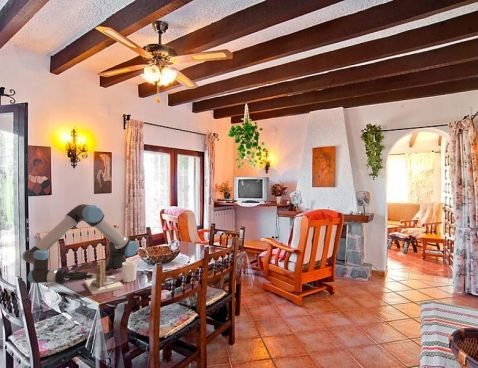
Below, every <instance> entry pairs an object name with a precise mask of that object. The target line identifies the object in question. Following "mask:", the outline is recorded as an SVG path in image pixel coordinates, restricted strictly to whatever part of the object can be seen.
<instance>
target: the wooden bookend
mask: <svg viewBox="0 0 478 368" xmlns="http://www.w3.org/2000/svg"><path fill="white" fill-rule="evenodd" d="M96 273H97V277H96V278H94V279H95V280H93V281H92V285H94V286H96V288H100V287H101V286H107V285H111V284H113V283H115V278H116V277H115V278H111V277H108V276H107V275H106V259H101V261H99V262H98V263H97V264H96Z"/></svg>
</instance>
